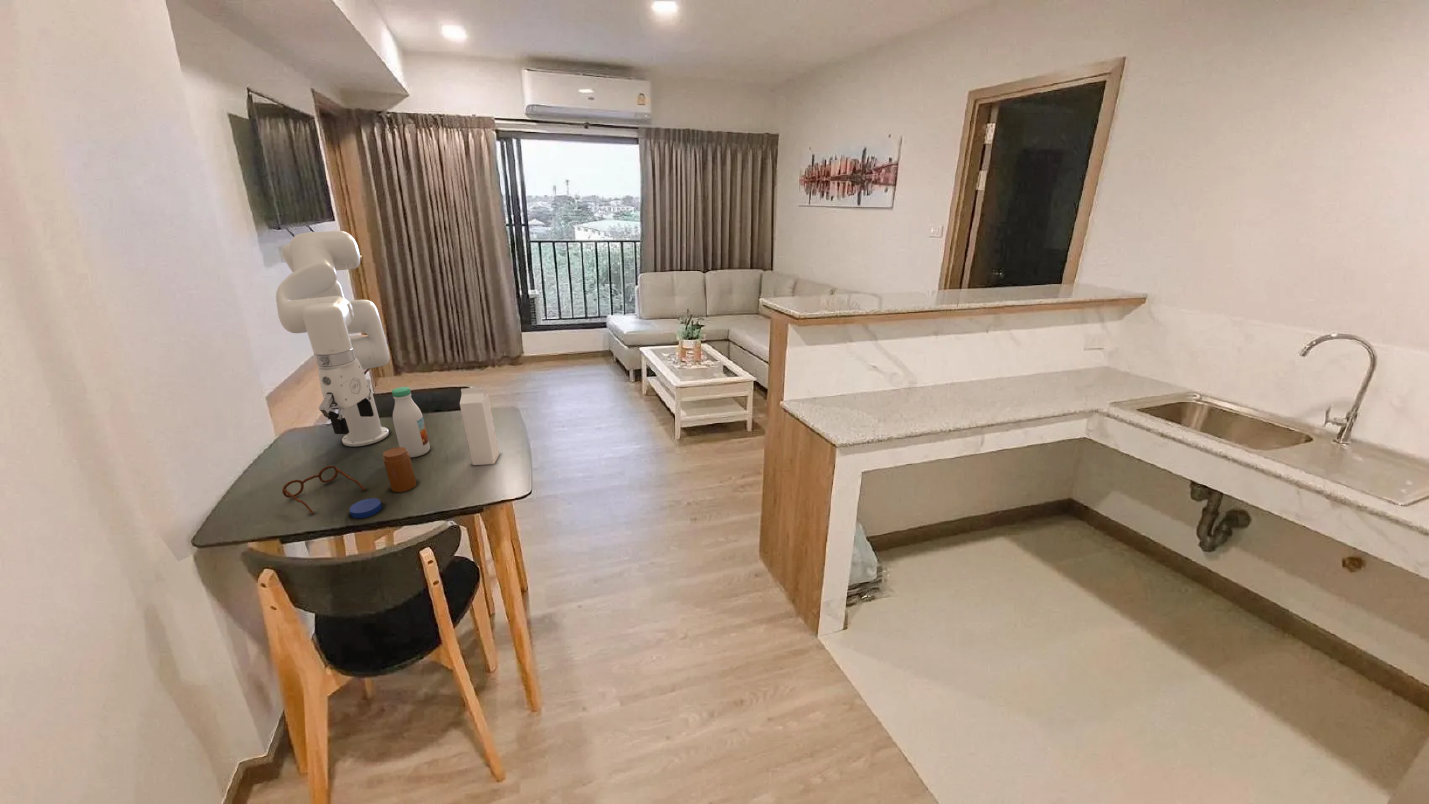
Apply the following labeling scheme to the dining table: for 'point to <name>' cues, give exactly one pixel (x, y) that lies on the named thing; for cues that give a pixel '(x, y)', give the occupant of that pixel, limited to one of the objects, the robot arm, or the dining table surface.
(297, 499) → the glasses
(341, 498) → the dining table surface
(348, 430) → the robot arm
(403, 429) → the milk bottle
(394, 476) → the jar
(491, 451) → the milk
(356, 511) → the lid
